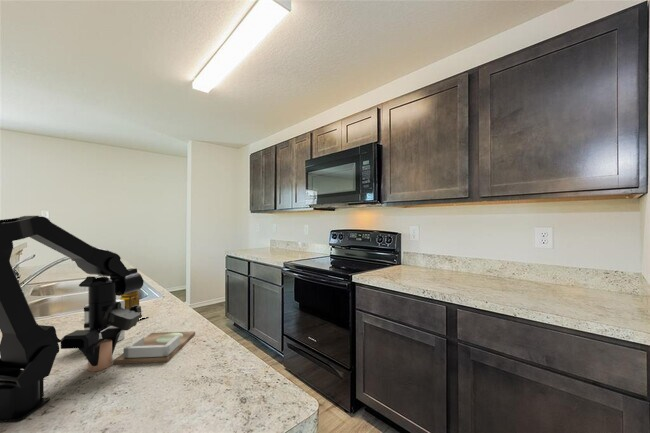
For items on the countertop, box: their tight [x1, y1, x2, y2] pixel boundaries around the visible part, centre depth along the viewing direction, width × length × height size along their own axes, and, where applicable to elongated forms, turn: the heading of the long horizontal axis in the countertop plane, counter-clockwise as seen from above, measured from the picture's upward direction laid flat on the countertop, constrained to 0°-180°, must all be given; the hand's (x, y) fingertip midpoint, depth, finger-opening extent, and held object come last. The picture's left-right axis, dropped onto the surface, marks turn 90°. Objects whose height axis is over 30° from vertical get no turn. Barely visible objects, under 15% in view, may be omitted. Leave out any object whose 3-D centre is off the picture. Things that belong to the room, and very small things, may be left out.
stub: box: [87, 339, 113, 373], centre depth 73 cm, size 5×5×6 cm
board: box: [113, 330, 196, 365], centre depth 84 cm, size 18×14×1 cm
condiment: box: [119, 290, 140, 320], centre depth 108 cm, size 7×8×12 cm
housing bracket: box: [123, 336, 180, 358], centre depth 79 cm, size 7×11×2 cm, turn 93°
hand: (102, 360), depth 73 cm, fingers closed on stub, 5 cm apart
